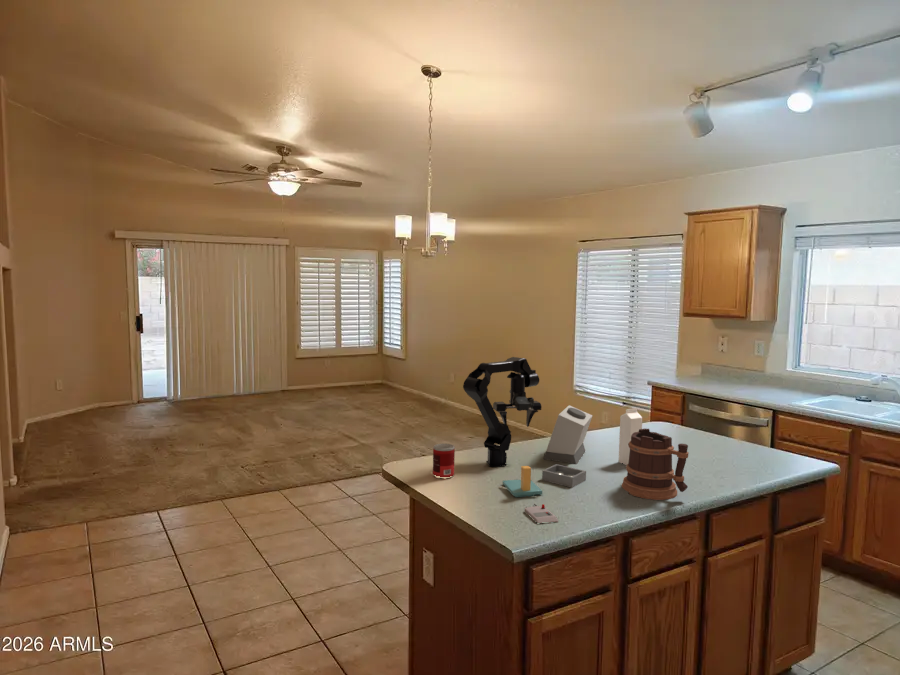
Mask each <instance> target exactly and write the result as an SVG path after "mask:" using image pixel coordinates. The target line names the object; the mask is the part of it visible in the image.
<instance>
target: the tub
mask: <svg viewBox="0 0 900 675" xmlns="http://www.w3.org/2000/svg"><path fill="white" fill-rule="evenodd" d="M554 471H559V472H563V473H564V475H562V474H558V473H554ZM541 473H542V475H541V479H542V481H545V482H549V483H553V484H557V485H561V486H565V487H569V488H575V487H576V486H579V485H580V484H582V483H584V482H586V481H587V470H585V469H584V470H583V469H579V468H574V467H571V466H566V465H562V464H557V463H556V464H553V465H552V466H549V467H547V468H545V469H543V470H542V472H541ZM567 474H571V475H574V476H573V477H570V476H566V475H567Z"/></svg>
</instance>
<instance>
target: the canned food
mask: <svg viewBox="0 0 900 675" xmlns="http://www.w3.org/2000/svg"><path fill="white" fill-rule="evenodd" d="M455 450H456V449H455V445H454V444H451V443H437V444H434V445H433V448H432V475H433V474H434V475H436V476H440V477H450V476H453V475H455V455H456V454H455ZM453 477H454V476H453Z"/></svg>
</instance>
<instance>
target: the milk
mask: <svg viewBox="0 0 900 675" xmlns="http://www.w3.org/2000/svg"><path fill="white" fill-rule="evenodd" d="M619 418H620V419H619V438H618V439H619V442H618V443H619V444H618V461H617V462H618V463H619V464H620V463H621V464H622V463H623V464H622V465H625V466H627V464H628V463H629V453H630V448H629V446H628V443H629V442H630V441H631V435H632V434H633V433H634V432H639V429H643V416H642V415H641V414H640V413H639V412H638V408H637V407H635V408H628V409H627V408H626V409H625V413H623V414H621V415H620V417H619Z"/></svg>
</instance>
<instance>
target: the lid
mask: <svg viewBox="0 0 900 675" xmlns="http://www.w3.org/2000/svg"><path fill="white" fill-rule="evenodd" d="M531 475H532V467H530V466H529V465H521V466H520V479H509V480H508V479H507V480H502V485H503V486H504V487H505V488H506V489H507V491H508V492H509V493H510V494H511V495H513V496H514V497H515V498H524V497H525V498H526V496H528V497H537V495H542V494H543V490H542V489H541V488H540V487H539V486H538V485H537V484H536V483H535V482H534V481H532V476H531Z"/></svg>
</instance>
